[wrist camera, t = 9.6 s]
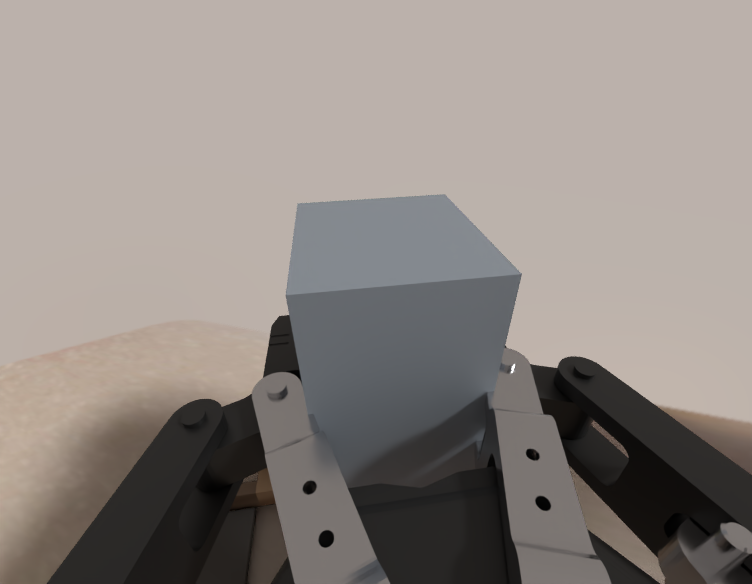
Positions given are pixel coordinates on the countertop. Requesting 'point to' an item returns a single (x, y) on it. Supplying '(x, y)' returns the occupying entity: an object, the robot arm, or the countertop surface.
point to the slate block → (398, 333)
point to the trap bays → (233, 541)
